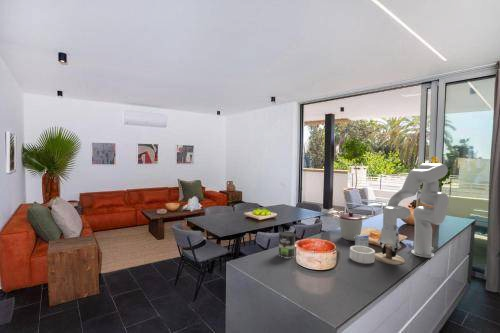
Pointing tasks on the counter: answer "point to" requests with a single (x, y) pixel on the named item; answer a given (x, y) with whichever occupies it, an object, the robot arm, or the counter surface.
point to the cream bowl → (362, 254)
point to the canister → (350, 226)
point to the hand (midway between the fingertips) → (388, 254)
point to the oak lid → (389, 257)
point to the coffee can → (286, 244)
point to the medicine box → (361, 240)
